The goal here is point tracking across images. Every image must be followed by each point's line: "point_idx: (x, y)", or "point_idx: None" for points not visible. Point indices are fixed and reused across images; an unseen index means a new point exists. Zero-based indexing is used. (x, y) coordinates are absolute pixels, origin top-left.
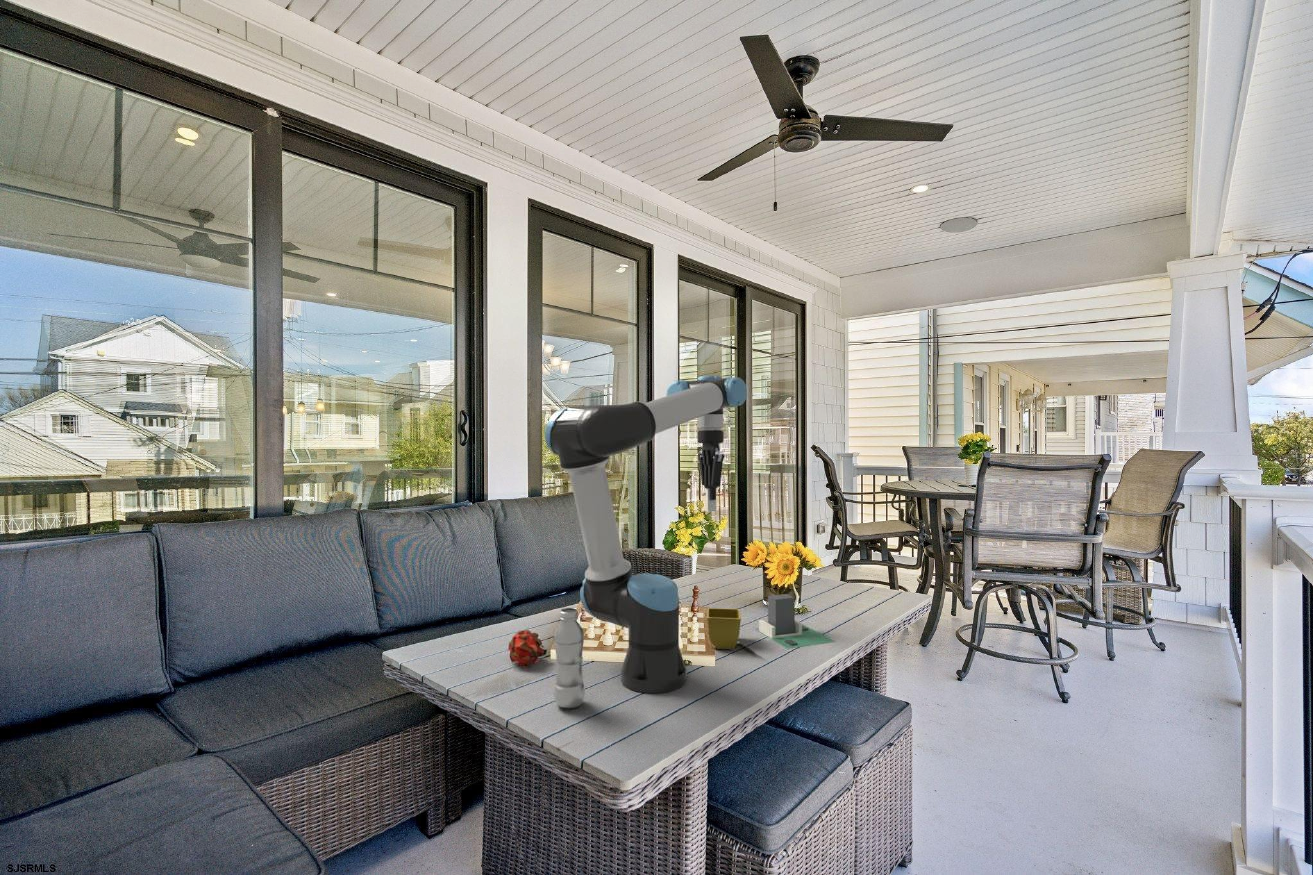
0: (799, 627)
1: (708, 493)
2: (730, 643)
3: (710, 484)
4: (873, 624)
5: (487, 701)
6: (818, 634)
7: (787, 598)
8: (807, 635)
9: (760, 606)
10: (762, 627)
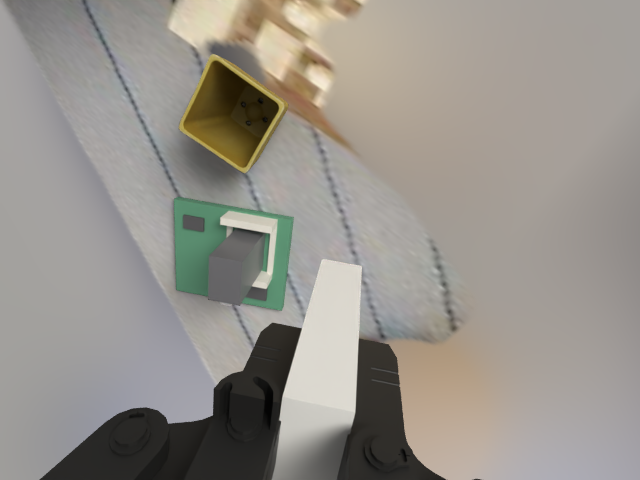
0: None
1: (294, 360)
2: (220, 109)
3: (196, 459)
4: None
5: None
6: None
7: (208, 283)
8: None
9: (427, 333)
10: (261, 220)
